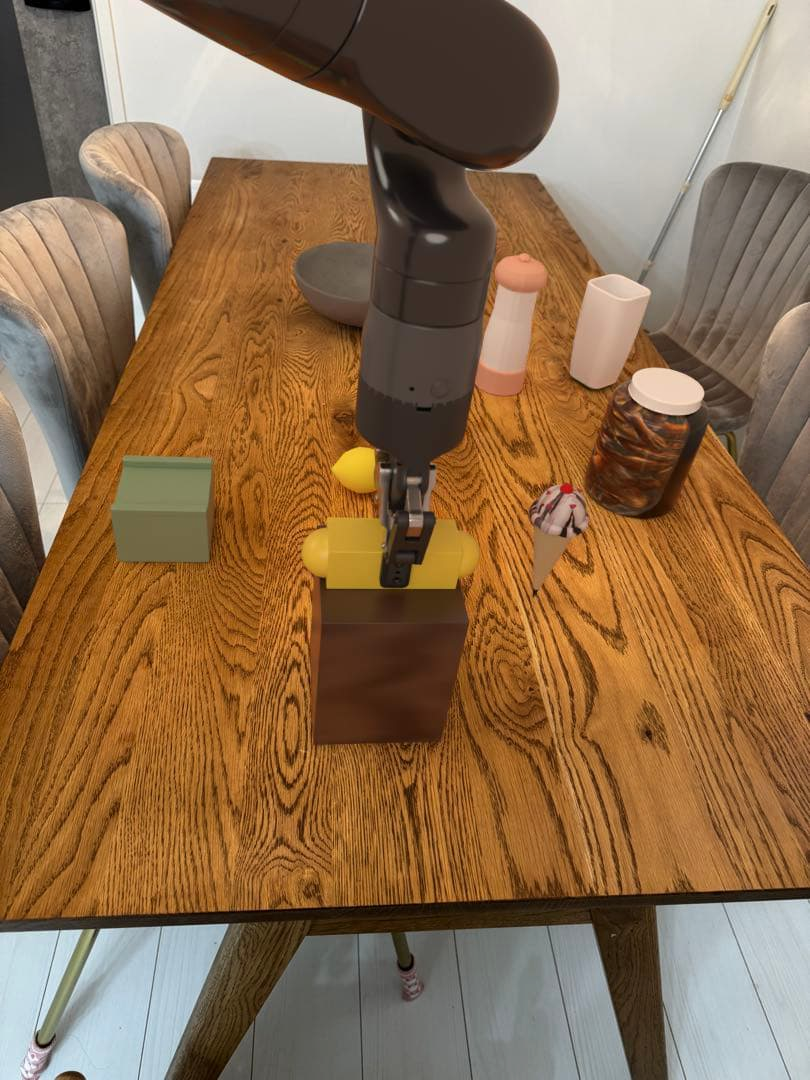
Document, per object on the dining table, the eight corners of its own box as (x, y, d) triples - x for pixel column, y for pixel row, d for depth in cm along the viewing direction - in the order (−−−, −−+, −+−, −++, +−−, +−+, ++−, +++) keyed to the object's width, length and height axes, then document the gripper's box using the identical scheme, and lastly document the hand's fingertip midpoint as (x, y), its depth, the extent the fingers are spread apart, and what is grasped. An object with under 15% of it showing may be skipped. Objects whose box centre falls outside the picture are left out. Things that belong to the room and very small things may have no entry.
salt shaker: (465, 371, 120) (489, 243, 108) (510, 369, 122) (538, 243, 110) (484, 397, 115) (511, 266, 103) (530, 394, 117) (562, 265, 105)
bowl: (437, 304, 136) (444, 258, 131) (407, 360, 121) (413, 309, 116) (317, 278, 139) (319, 231, 134) (272, 329, 123) (272, 278, 118)
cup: (625, 385, 123) (656, 292, 113) (593, 397, 119) (623, 301, 109) (589, 364, 127) (616, 272, 117) (557, 375, 123) (583, 280, 113)
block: (118, 561, 82) (109, 509, 78) (130, 505, 89) (123, 454, 84) (209, 562, 84) (206, 511, 79) (214, 507, 90) (212, 457, 86)
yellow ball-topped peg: (301, 589, 61) (302, 551, 59) (300, 553, 64) (301, 516, 62) (479, 589, 63) (488, 553, 61) (470, 555, 66) (478, 519, 64)
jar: (677, 529, 97) (723, 422, 87) (580, 506, 98) (615, 399, 88) (675, 474, 106) (716, 372, 96) (586, 454, 107) (618, 351, 97)
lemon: (387, 476, 98) (392, 438, 95) (391, 504, 94) (396, 466, 91) (329, 474, 97) (332, 436, 94) (331, 502, 93) (333, 463, 90)
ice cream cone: (535, 572, 88) (569, 459, 79) (571, 604, 85) (612, 491, 75) (495, 590, 85) (526, 475, 76) (532, 625, 82) (569, 510, 72)
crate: (312, 745, 68) (321, 623, 59) (309, 646, 77) (316, 524, 67) (441, 741, 70) (469, 622, 60) (424, 645, 78) (447, 526, 69)
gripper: (352, 314, 57) (337, 506, 68) (368, 427, 46) (347, 632, 57) (457, 320, 58) (425, 507, 69) (496, 432, 47) (451, 632, 58)
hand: (390, 563), depth 63 cm, fingers closed on yellow ball-topped peg, 4 cm apart
